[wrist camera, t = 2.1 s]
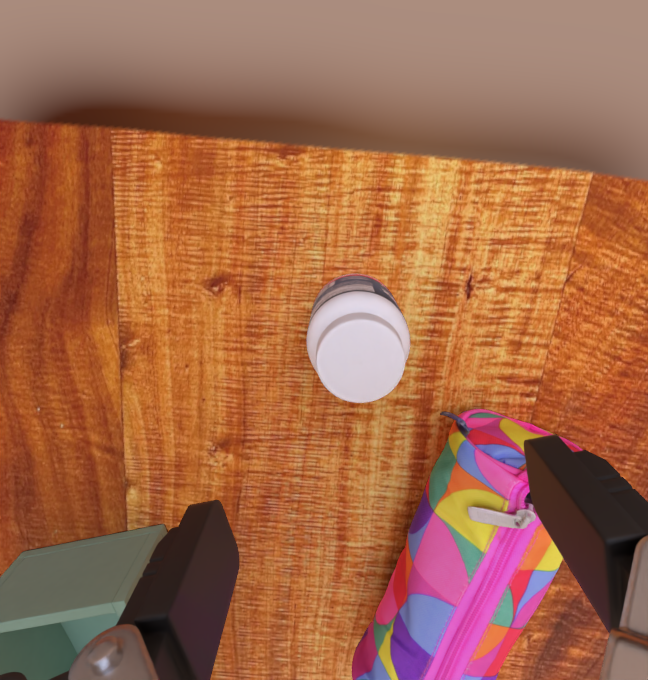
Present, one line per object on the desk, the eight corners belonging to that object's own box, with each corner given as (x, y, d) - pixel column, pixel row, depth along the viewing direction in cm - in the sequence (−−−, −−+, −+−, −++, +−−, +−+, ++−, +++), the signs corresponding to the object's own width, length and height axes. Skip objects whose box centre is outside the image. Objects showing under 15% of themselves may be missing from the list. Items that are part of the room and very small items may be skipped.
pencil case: (435, 374, 30) (474, 448, 21) (571, 410, 30) (663, 497, 22) (344, 621, 37) (346, 753, 28) (457, 647, 37) (493, 785, 28)
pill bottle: (402, 345, 29) (428, 407, 21) (322, 361, 30) (316, 427, 21) (388, 263, 28) (410, 295, 19) (304, 281, 28) (289, 319, 20)
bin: (82, 661, 39) (31, 755, 32) (22, 551, 35) (-49, 631, 29) (213, 639, 38) (187, 732, 31) (164, 523, 34) (123, 600, 28)
